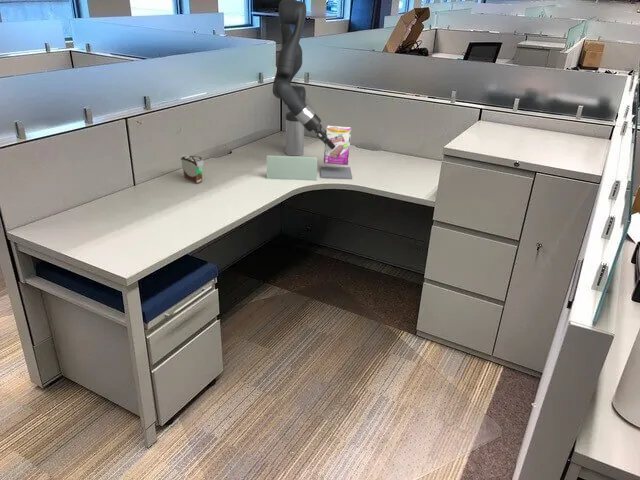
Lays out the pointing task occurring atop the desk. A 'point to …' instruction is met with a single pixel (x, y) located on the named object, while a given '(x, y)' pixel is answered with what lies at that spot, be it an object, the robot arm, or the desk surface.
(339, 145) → the candy bar box
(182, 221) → the desk surface
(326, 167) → the mat
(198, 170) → the food container
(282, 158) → the screen
